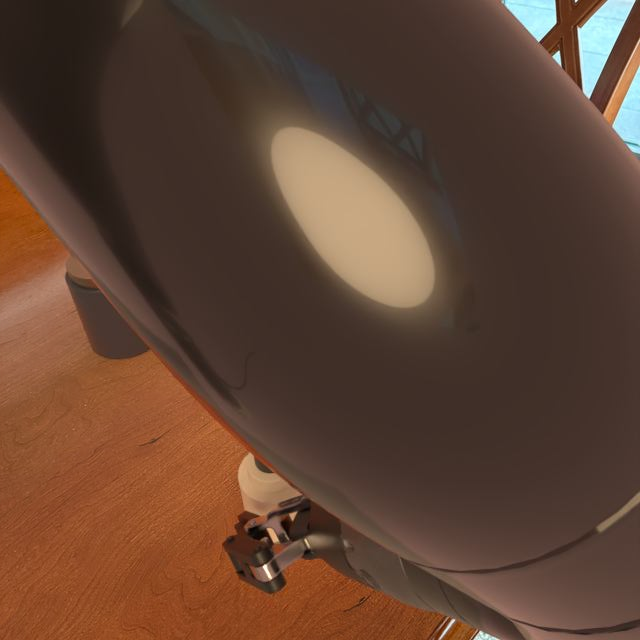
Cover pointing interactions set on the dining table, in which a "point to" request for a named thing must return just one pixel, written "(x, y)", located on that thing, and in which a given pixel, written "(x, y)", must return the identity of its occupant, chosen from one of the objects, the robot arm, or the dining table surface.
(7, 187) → the dining table surface
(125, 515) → the dining table surface
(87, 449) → the dining table surface
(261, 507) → the cream bottle
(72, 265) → the slate jar
